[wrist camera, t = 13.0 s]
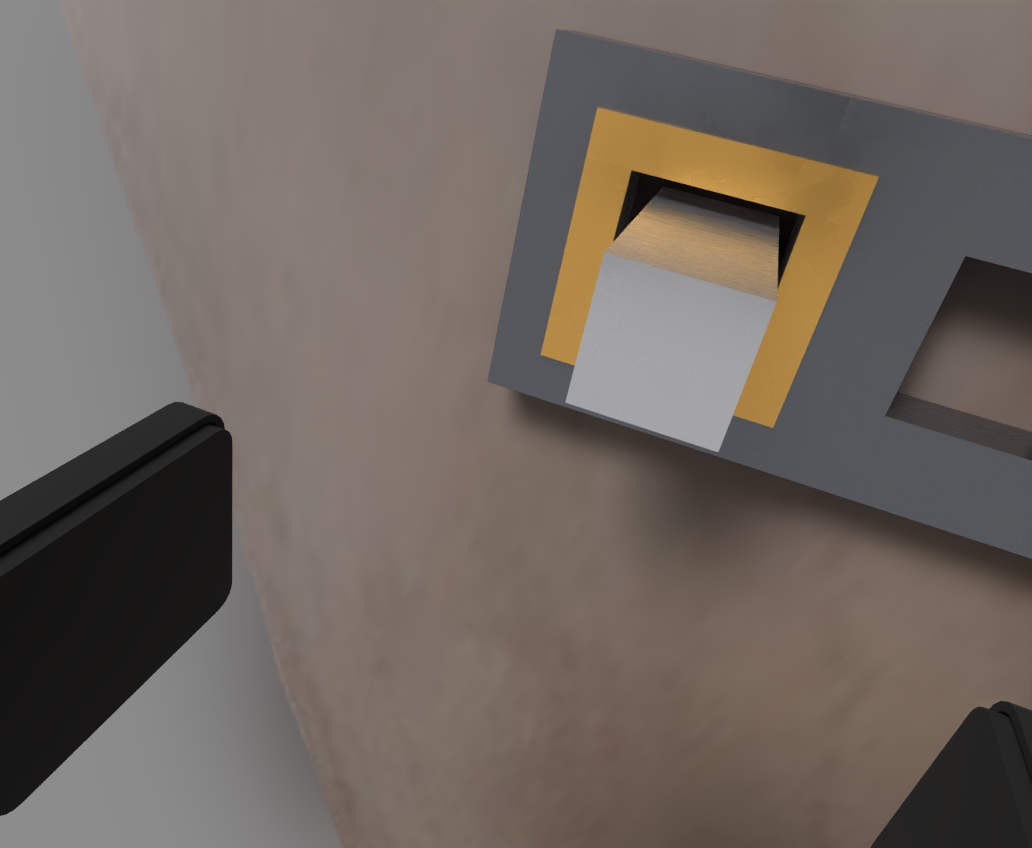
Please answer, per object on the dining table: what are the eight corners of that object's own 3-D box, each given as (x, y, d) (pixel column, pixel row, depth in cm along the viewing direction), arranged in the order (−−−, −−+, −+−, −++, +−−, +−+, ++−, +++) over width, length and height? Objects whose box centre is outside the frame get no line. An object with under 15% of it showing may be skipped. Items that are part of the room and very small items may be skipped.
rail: (1786, 308, 19) (1925, 344, 16) (1413, 646, 25) (1477, 707, 22) (576, 31, 25) (554, 29, 22) (508, 358, 30) (485, 383, 28)
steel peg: (779, 216, 25) (777, 301, 17) (739, 325, 27) (718, 452, 18) (663, 186, 26) (604, 252, 17) (632, 294, 28) (565, 402, 19)
